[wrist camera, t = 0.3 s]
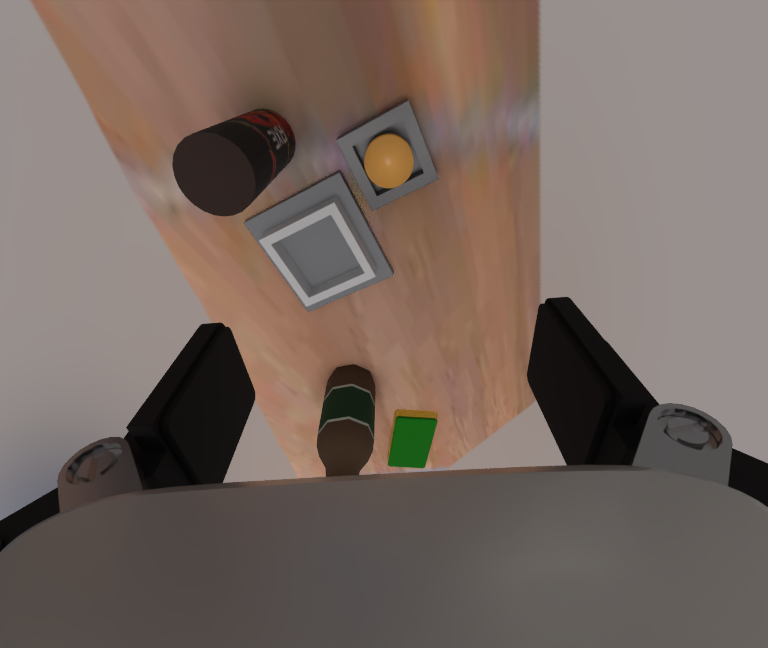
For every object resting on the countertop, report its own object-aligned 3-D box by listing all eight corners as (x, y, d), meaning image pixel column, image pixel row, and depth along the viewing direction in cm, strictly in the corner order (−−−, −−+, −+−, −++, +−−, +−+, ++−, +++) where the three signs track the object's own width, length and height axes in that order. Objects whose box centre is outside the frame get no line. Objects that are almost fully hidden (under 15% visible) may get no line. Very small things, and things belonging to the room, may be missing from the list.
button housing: (338, 136, 39) (336, 140, 37) (407, 98, 37) (408, 100, 35) (372, 204, 43) (372, 211, 42) (436, 173, 41) (438, 178, 40)
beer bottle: (355, 355, 57) (340, 510, 37) (385, 384, 60) (385, 539, 41) (317, 377, 60) (285, 532, 40) (348, 404, 63) (332, 558, 44)
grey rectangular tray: (246, 220, 44) (236, 231, 42) (340, 170, 41) (336, 178, 38) (309, 308, 52) (305, 322, 49) (393, 271, 48) (394, 284, 46)
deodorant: (306, 141, 40) (271, 177, 27) (273, 181, 42) (227, 231, 30) (260, 94, 37) (199, 111, 25) (227, 139, 39) (157, 175, 27)
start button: (356, 146, 38) (355, 150, 37) (400, 123, 37) (401, 125, 36) (378, 191, 41) (377, 196, 39) (419, 170, 40) (421, 174, 38)
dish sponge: (387, 455, 72) (387, 466, 70) (395, 407, 64) (396, 418, 62) (423, 457, 73) (424, 468, 71) (436, 409, 65) (437, 420, 63)
